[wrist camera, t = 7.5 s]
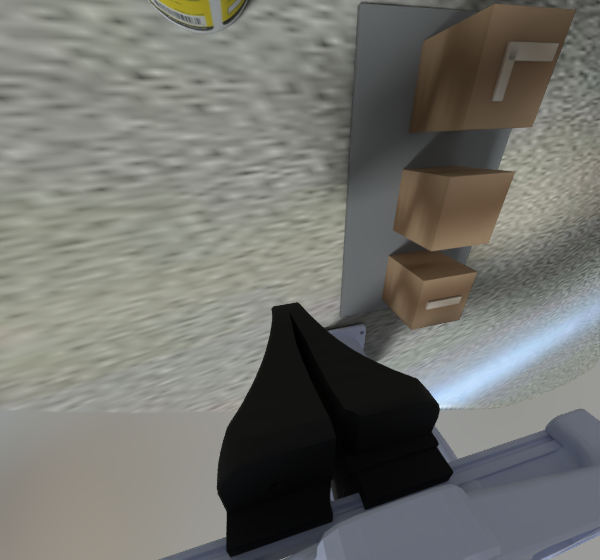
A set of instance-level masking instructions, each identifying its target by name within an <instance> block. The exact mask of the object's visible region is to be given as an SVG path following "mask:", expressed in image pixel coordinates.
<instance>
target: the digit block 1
mask: <svg viewBox="0 0 600 560" xmlns="http://www.w3.org/2000/svg"><path fill="white" fill-rule="evenodd" d="M476 274H477V271H475V270H473V269H471V268H469V267H467V266H465V265H463V264H462V263H460V262H458V261H456V260H454V259H452V258H450V257H448V256H446V255H445V254H443V253H441V252H439V251H430V250H424V251H417V252H410V253H403V254H396V255H389V257H388V263H387V269H386V275H385V282H384V288H383V294H382V300H383V301H384V302H385V303H386V304H387V305H388V306H389V307H390V308H391V309H392V310H393V311H394V312H395V313H396V314H397V315H398V317H399V318H400V319H401V320H402V321H403V322H404V323H405V324H406V325H407V326H408V327H409V328H410V329H411V330H413V329H418V328H423V327H427V326H432V325H437V324H442V323H446V322H451V321H456V320H459V319H460V317H461V314H462V311H463V309H464V306H465V304H466V301H467V298H468V296H469V293H470V290H471V288H472V285H473V282H474V280H475V277H476Z"/></svg>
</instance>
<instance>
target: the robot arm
mask: <svg viewBox="0 0 600 560" xmlns="http://www.w3.org/2000/svg"><path fill="white" fill-rule="evenodd" d="M361 331H362V332H361ZM365 335H366V326H365V325H364V324H359V325H354V326H349V327H344V328H338V329H333V330H328V331H327V330H326V329H325V328H323V327H322V326H321V325H320V324H319V323H318V322H317V321H316V320H315V319H314V318H313V317H312V316H311V315H310V314H309V313H308V312H307V311H306V310H305V309H304V308H303V307H302V306H301V305H300V304H299V303H298V302H297V303H291V304H285V305H279V306H274V307H273V308H272V326H271V332H270V337H269V341H268V344H267V348H266V352H265V355H264V358H263V360H262V363H261V366H260V368H259V371H258V373H257V375H256V378H255V380H254V382H253V384H252V386H251V388H250V390H249V392H248V393H247V395H246V397H245V399H244V401H243V403H242V404H241V406H240V408H239V409H238V411H237V413H236V414H235V416H234V417H233V419H232V420H231V422H230V424H229V425H228V427H227V430H226V433H225V437H224V440H223V444H222V448H221V452H220V458H219V463H218V474H217V475H218V476H217V490H218V495H219V497H220V499H221V501H222V503H223V505H224V507H225V509H226V511H227V532H226V537H225V538H222V539H219V540H216V541H213V542H210V543H207V544H204V545H201V546H198V547H195V548H192V549H189V550H186V551H183V552H180V553H177V554H175V555H171V556H168V557H165V558H162V559H159V560H280V559H283V558H285V557H287V558H285V559H283V560H549V559H551V558H553V557H555V556H557V555H559V554H562V553H564V552H566V551H568V550H570V549H571V548H574V547H576V546H578V545H580V544H582V543H584V542H586V541H588V540H590V539H593V538H595V537H597V536H599V535H600V421H599V420H598V419H596V418H595V417H594V416H592V415H591V414H590V413H588V412H587V411H586V410H584V409H577V410H574V411H571V412H568V413H565V414H562V415H560V416H557V417H556V418H554V419H553V420H551V421H550V422H549V423H548V425H547V426H546V428H545V430H543V431H540V432H537V433H534V434H532V435H528V436H525V437H523V438H519V439H516V440H513V441H511V442H508V443H505V444H502V445H499V446H496V447H493V448H490V449H487V450H484V451H481V452H478V453H475V454H472V455H469V456H466V457H463V458H460V459H457V457H456V455H454V452H453V451H452V449H451V448H450V446H449V445H448V443H447V442H446V441H445V439H444V438H443V436H442V435H441V434H440V432H439V431H438V430H437V428H436V427H435V426H434V425H435V423H436V421H437V419H438V415H439V411H440V408H439V404H438V403H437V401H436V400H435V399H434V398H433V396H432V395H431V394H430V392H429V391H428V390H427V389H426V388H425V387H424V385H423V384H422V383H421V382H420V381H419V380H418V379H417V378H414V377H411V376H409V375H406V374H403V373H401V372H398V371H395V370H393V369H390V368H388V367H386V366H384V365H382V364H379V363H377V362H375V361H373V360H371V359H369V358H368V357H367V355H366V354H365V352H364V343H365ZM291 555H292V556H291ZM288 556H289V557H288Z"/></svg>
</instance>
